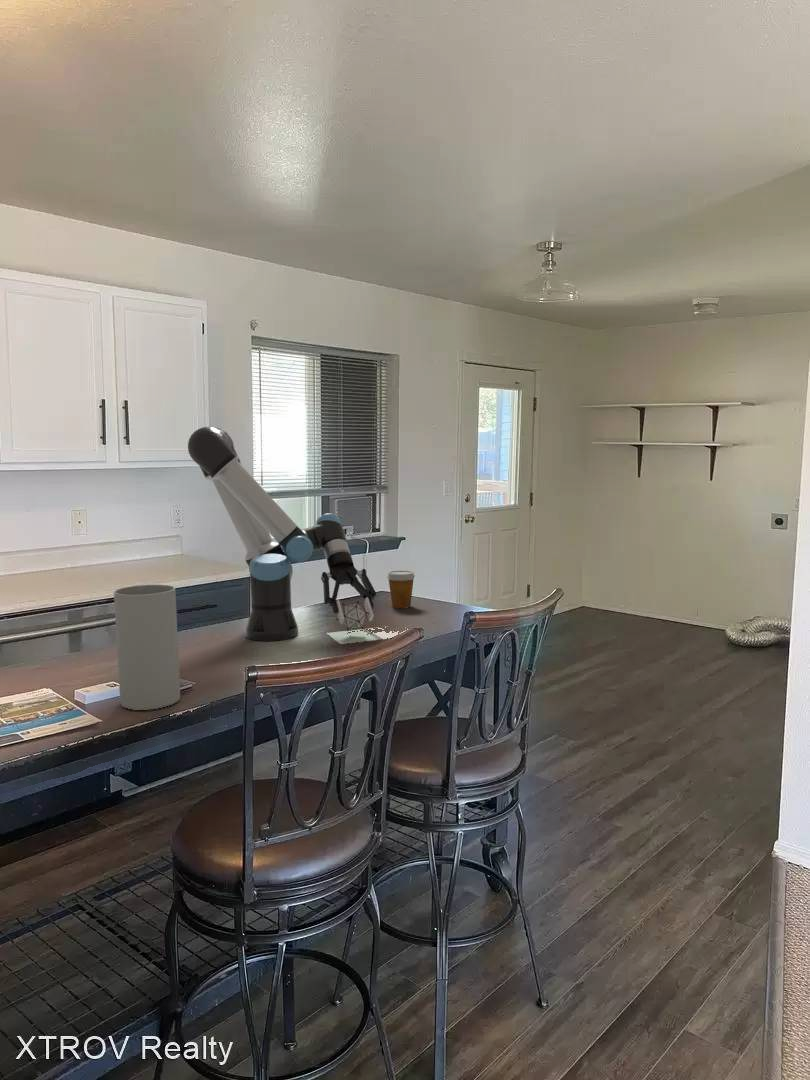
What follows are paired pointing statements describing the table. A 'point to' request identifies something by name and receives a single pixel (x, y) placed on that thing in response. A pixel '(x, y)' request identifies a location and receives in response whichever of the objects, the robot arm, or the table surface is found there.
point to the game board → (361, 636)
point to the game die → (353, 616)
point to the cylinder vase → (147, 646)
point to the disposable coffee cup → (401, 588)
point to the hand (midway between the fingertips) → (357, 620)
